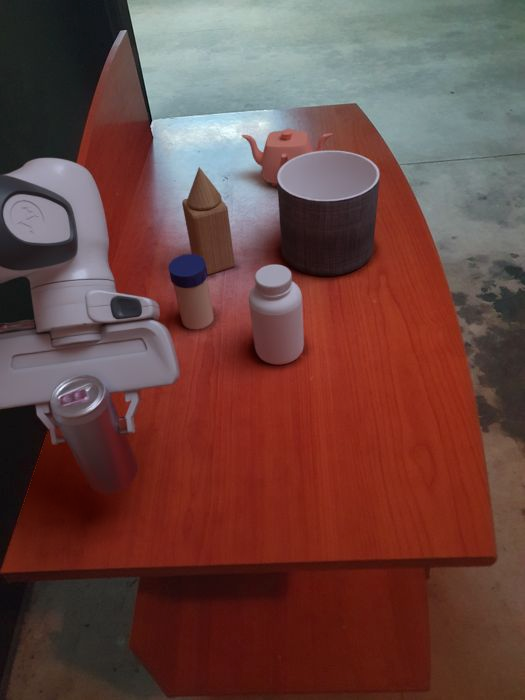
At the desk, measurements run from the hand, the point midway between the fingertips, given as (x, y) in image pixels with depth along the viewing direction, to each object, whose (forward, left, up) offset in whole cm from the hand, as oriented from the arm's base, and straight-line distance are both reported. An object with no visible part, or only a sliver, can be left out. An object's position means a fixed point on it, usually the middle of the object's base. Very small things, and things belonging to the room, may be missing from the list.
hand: (95, 438), depth 62 cm
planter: (+40, +47, -16) cm, 64 cm away
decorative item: (+18, +49, -16) cm, 55 cm away
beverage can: (0, +1, -9) cm, 9 cm away
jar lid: (+13, +34, -5) cm, 37 cm away
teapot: (+39, +75, -16) cm, 87 cm away
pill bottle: (+25, +23, -16) cm, 38 cm away
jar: (+13, +34, -16) cm, 40 cm away
